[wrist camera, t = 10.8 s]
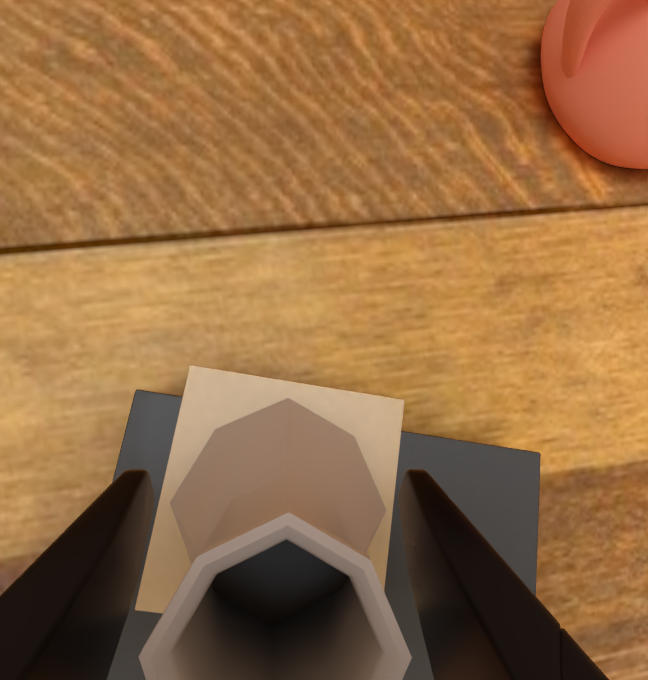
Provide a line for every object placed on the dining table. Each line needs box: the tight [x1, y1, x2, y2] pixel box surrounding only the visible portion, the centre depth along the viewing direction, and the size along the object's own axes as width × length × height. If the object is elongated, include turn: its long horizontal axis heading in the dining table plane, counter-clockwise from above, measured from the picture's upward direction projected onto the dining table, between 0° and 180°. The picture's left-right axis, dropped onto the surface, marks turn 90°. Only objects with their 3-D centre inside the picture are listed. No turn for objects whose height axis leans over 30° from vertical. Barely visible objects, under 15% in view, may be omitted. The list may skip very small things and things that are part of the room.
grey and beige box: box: [107, 365, 540, 680], centre depth 16 cm, size 11×16×3 cm
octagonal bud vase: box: [139, 398, 412, 680], centre depth 10 cm, size 7×7×10 cm
